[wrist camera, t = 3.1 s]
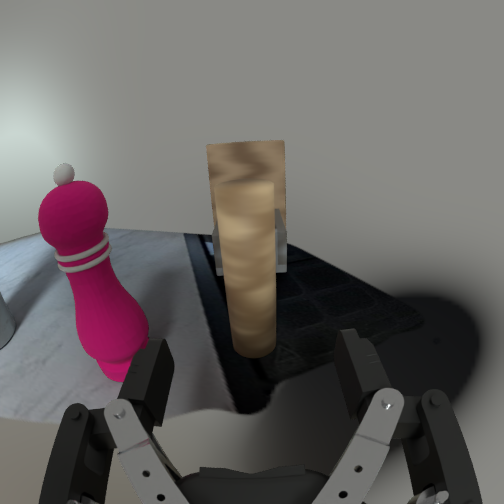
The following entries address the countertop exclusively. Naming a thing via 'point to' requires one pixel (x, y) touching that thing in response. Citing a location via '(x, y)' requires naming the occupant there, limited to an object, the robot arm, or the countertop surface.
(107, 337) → the pepper mill
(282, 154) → the cup bracket
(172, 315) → the countertop surface
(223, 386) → the countertop surface
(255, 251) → the oak post
